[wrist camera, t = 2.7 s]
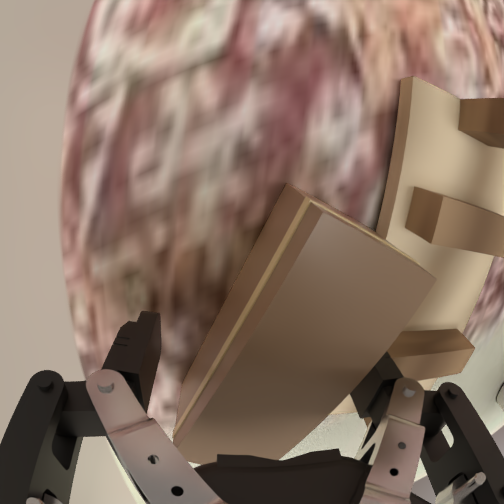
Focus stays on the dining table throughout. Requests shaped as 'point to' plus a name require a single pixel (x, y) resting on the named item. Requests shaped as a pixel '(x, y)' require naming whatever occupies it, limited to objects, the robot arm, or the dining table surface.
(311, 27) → the dining table surface
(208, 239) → the dining table surface
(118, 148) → the dining table surface
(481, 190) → the display cradle
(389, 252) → the brown rectangular box
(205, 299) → the dining table surface
